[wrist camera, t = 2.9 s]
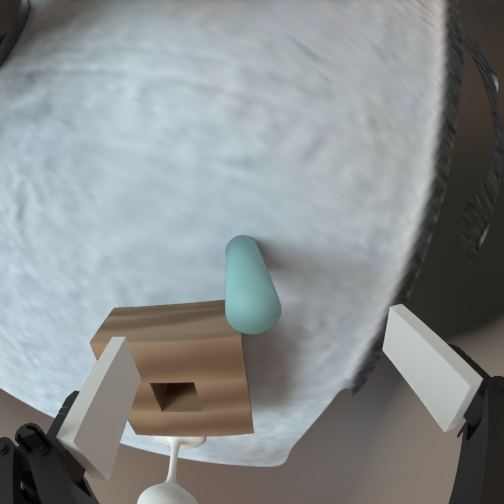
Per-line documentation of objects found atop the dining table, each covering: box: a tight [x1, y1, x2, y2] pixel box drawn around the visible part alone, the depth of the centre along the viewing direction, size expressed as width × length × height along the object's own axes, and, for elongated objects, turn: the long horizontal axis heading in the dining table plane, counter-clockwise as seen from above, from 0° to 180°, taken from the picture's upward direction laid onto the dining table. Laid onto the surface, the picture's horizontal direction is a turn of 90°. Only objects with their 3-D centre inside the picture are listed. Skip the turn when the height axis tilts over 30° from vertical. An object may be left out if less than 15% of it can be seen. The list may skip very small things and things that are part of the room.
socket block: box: [89, 300, 254, 437], centre depth 27 cm, size 14×14×7 cm
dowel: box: [225, 235, 281, 334], centre depth 21 cm, size 3×3×12 cm
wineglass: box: [137, 436, 205, 504], centre depth 25 cm, size 9×9×21 cm
